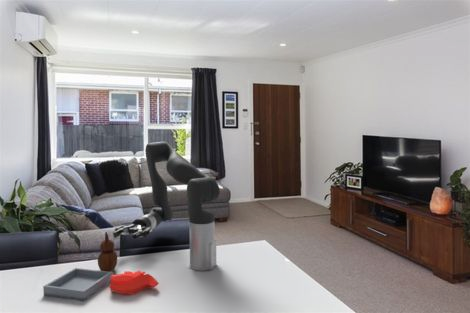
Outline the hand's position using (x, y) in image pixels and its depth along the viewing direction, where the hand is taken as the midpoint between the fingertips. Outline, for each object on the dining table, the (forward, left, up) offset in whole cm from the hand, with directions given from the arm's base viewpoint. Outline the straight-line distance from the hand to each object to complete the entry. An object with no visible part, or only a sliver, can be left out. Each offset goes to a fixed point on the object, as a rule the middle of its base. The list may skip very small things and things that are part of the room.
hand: (123, 236), depth 137 cm
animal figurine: (-17, +21, -10) cm, 29 cm away
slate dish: (+1, +25, -9) cm, 27 cm away
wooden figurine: (0, +11, -10) cm, 15 cm away
